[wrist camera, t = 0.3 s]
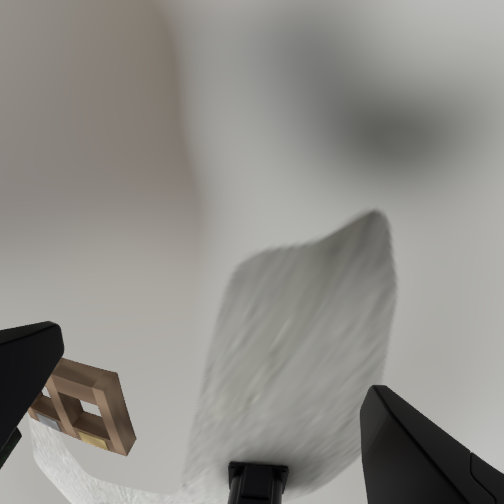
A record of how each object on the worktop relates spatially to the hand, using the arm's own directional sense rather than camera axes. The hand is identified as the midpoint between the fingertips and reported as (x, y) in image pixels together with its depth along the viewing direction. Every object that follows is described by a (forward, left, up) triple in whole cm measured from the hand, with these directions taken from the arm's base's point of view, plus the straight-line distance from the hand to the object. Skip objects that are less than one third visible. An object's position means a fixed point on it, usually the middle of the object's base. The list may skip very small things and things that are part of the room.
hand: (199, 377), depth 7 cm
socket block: (-18, +20, -14) cm, 30 cm away
